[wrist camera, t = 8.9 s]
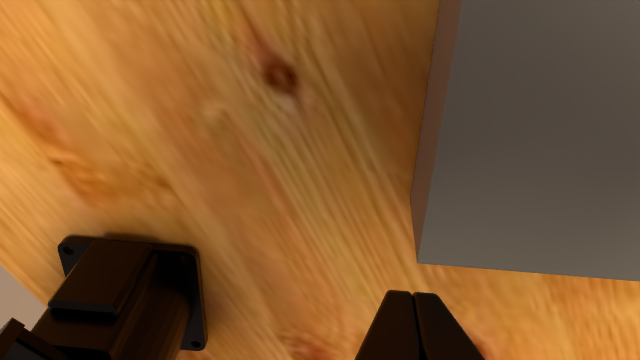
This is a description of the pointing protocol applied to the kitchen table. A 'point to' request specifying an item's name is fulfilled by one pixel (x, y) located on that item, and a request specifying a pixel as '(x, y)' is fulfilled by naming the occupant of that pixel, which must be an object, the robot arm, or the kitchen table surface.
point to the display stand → (532, 139)
